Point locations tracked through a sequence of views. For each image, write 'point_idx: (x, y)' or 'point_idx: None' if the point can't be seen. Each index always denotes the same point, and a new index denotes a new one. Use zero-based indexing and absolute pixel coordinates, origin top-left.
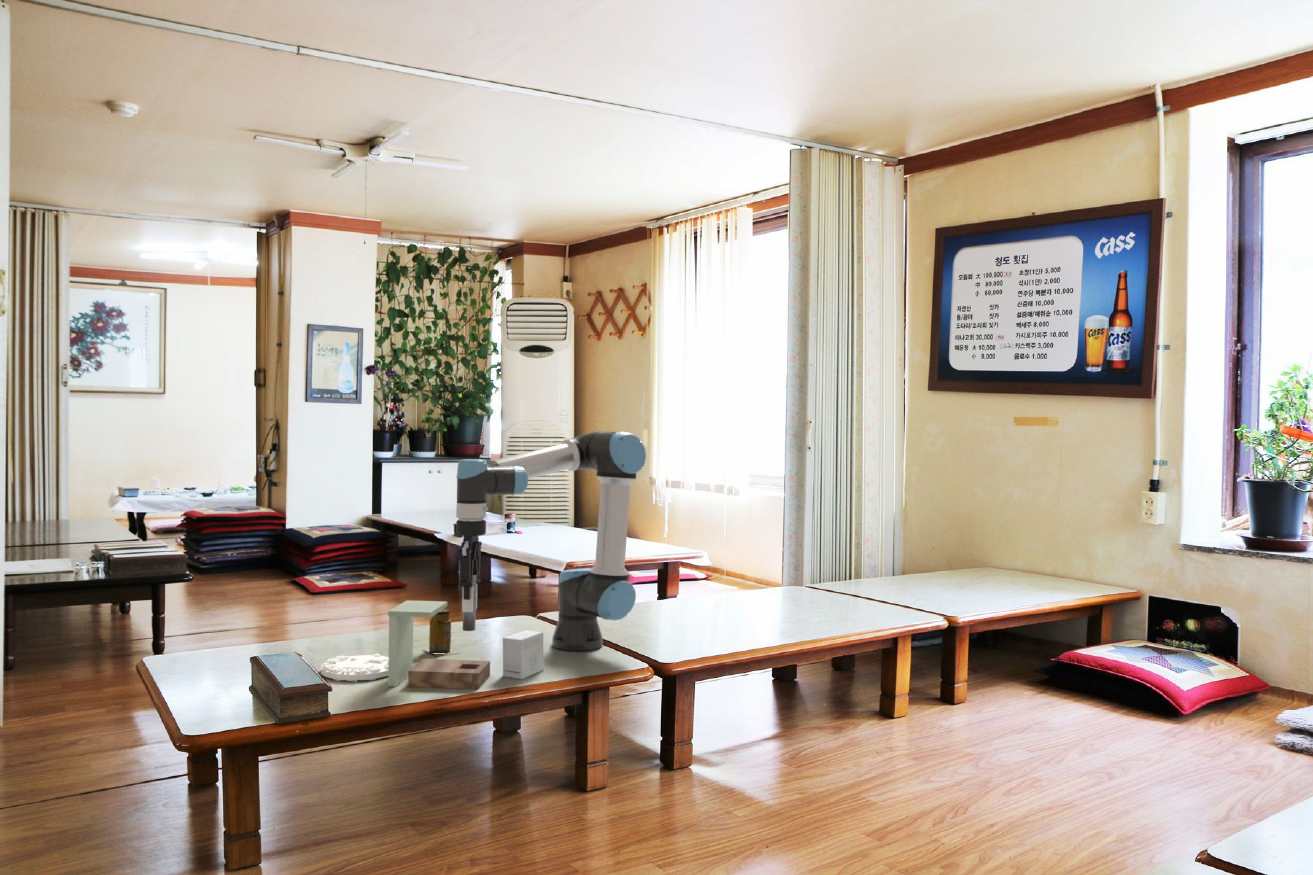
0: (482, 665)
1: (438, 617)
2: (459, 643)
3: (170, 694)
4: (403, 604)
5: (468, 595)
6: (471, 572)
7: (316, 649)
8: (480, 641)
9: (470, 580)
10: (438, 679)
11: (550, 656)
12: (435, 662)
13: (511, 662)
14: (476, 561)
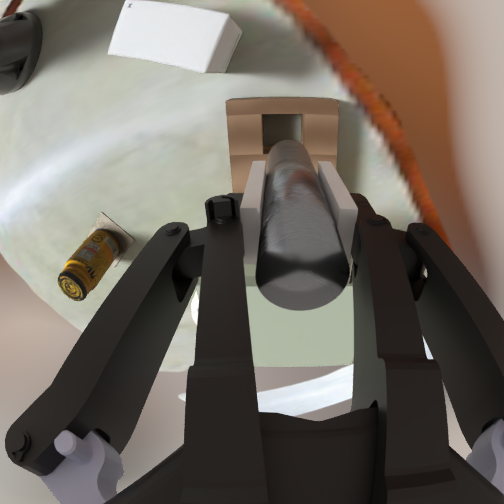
0: (269, 106)
1: (87, 282)
2: (61, 229)
3: (345, 397)
4: (267, 361)
5: (368, 205)
6: (406, 274)
7: (168, 364)
8: (41, 204)
9: (419, 238)
10: None
11: (73, 49)
12: None
13: (228, 50)
14: (244, 333)
